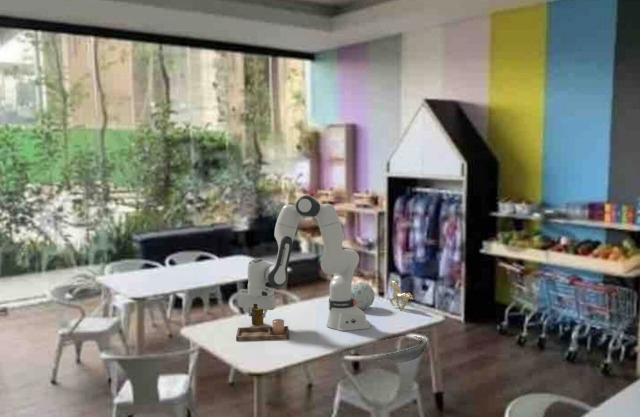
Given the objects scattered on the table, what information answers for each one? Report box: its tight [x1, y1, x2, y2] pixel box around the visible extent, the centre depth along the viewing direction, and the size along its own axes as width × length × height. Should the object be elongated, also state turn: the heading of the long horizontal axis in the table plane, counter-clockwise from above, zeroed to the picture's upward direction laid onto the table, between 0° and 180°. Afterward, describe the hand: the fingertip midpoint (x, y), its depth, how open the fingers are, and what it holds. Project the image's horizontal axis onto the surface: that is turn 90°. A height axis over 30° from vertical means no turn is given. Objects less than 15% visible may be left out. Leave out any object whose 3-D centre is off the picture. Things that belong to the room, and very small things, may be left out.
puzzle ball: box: [351, 282, 375, 310], centre depth 325 cm, size 15×15×15 cm
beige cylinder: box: [271, 318, 285, 335], centre depth 280 cm, size 6×6×7 cm
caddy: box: [235, 325, 290, 342], centre depth 280 cm, size 25×14×2 cm, turn 94°
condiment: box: [251, 304, 264, 327], centre depth 297 cm, size 7×8×12 cm
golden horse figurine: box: [388, 277, 414, 311], centre depth 324 cm, size 20×4×17 cm, turn 35°
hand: (257, 316), depth 297 cm, fingers closed on condiment, 6 cm apart
